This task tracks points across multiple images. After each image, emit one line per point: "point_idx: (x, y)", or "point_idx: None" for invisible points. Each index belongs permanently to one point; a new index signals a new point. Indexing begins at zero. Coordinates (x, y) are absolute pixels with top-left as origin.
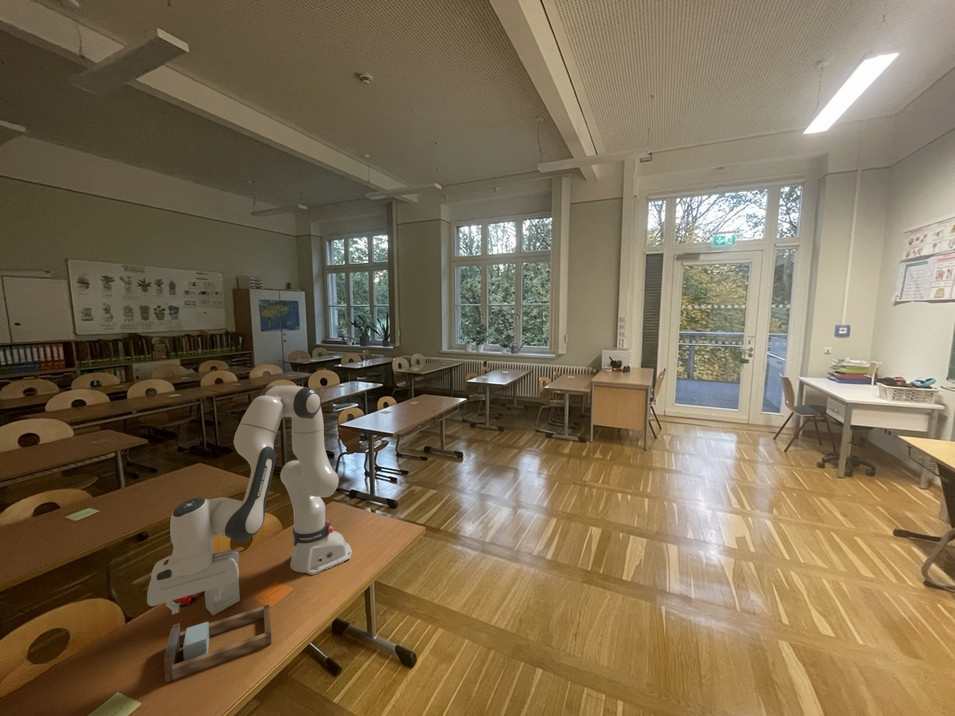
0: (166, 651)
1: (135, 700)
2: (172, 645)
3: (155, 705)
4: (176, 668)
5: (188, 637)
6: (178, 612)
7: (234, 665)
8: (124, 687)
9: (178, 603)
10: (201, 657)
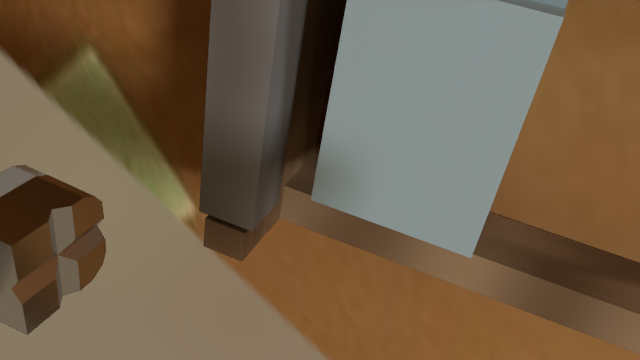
0: (208, 164)
1: (170, 172)
2: (240, 134)
3: (246, 268)
4: (301, 225)
5: (352, 128)
6: (96, 266)
7: (612, 351)
8: (109, 39)
9: (2, 244)
10: (436, 264)
